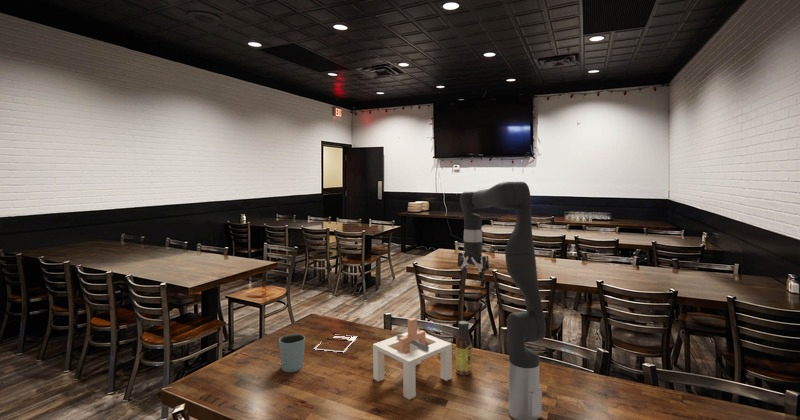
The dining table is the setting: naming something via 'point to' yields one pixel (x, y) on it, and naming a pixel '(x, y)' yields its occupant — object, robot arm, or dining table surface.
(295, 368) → the blue grey cup
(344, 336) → the white thin flat frame
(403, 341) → the tan wooden branched piece
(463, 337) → the sauce bottle
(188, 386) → the dining table surface
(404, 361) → the small white table
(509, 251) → the robot arm
